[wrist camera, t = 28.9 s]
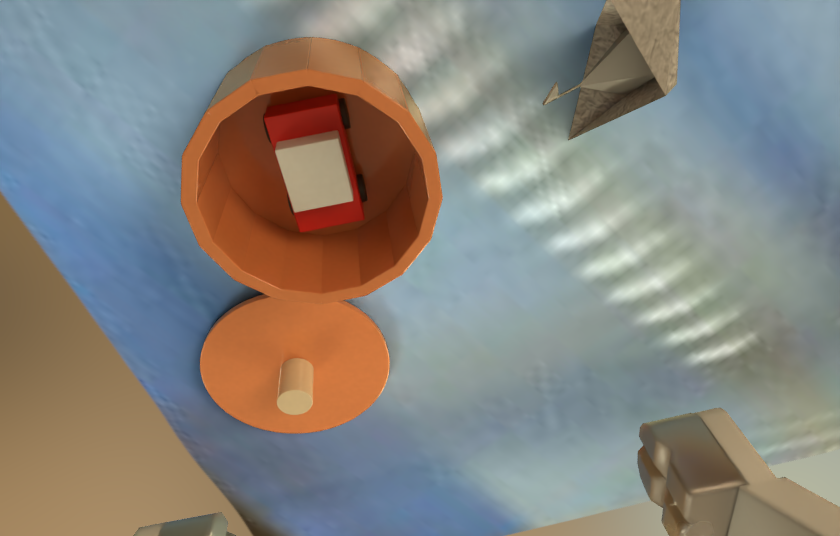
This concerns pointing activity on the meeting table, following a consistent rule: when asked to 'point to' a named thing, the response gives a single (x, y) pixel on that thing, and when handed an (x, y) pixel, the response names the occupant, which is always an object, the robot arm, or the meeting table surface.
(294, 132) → the car
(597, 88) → the paper boat
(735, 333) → the meeting table surface
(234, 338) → the lid
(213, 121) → the pot
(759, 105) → the meeting table surface
